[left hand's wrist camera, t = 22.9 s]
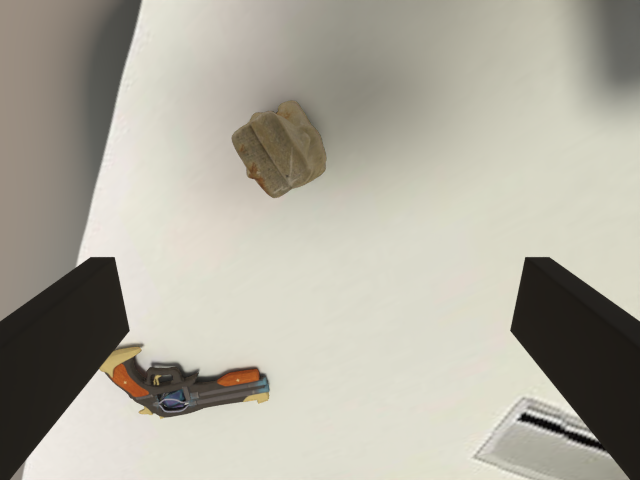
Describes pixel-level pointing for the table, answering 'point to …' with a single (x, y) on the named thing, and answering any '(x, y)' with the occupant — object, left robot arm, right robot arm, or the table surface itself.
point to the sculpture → (280, 149)
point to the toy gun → (181, 386)
